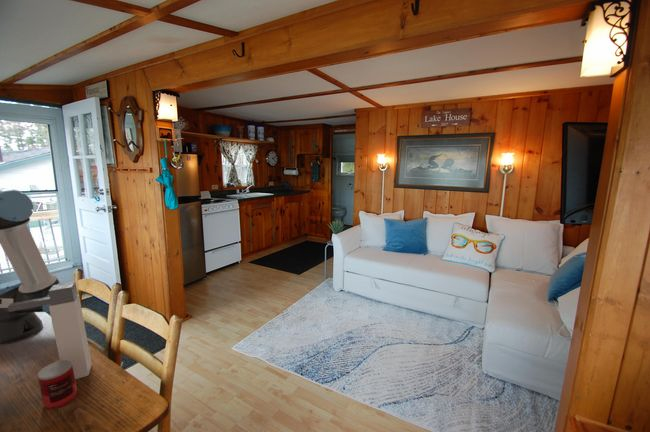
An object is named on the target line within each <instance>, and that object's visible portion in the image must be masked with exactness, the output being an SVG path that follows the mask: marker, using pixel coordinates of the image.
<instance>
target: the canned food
mask: <svg viewBox="0 0 650 432" xmlns="http://www.w3.org/2000/svg"><path fill="white" fill-rule="evenodd" d="M37 382H38V385H39V390H40V394H41V399H42V403H43V406H44V407H45V409H49V410H51V409H54V410H55V409H58V408H61V407H63V406H65V405H67V404H68V403H70V402H71V401H73V400H74V399H75V397H76V396H77V393H78V389H77V383H76V379H75V377H74V372H73V367H72V363H71V361H68V360H63V361H60V360H59V361H54V362H52V363H50V364H48V365H46V366H44V367H43V368H41V369H40V370H39V372H37Z"/></svg>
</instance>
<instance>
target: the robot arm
mask: <svg viewBox="0 0 650 432" xmlns="http://www.w3.org/2000/svg"><path fill="white" fill-rule="evenodd" d="M33 210H34V204H33V201H32V200H31V198H30V197H29V196H28V195H27V194H26V193H25V192H23V191H21V190H17V189H11V188H1V187H0V247H2V250H3V252H4V253H5V255H6V257H7V259H8V261H9V262H10V265H11V266H12V269H13V270H14V272H15V274H16V276H17V277H18V279H14V280H10V281H7V282H4V283H0V345H6V344H7V345H8V344H12V343H15V342H19V341H22V340H25V339H28V338H30V337H32V336H34V335H36V334H37V333H38V332H40V331H41V330H42V329H43V328H44V323H43V321H42V320H41V319H40V316H38V315H37V314H36V313H50V310H49V306H50V304H48V305H43V306H38V307H32V308H27V309H22V310H17V311H11V312H9V310H8V306H9V305H10V304H11V303H16V302H22V301H27V300H33V299H38V298H44V297H50V296H49V290H50V289H51V287H52V286H53V285H57V284H63V283H64V282H60V280H59V279H58V277H57V275H56V274H51V273H50V271H49V269H48V266H47V265H46V262H45V260H44V258H43V256H42V254H41V252H40V250H39V248H38V245H37V243H36V241H35V240H34V237H33V235H32V233H31V231H30V229H29V227H28V223H29V222H30V221H31V216H32V215H33V213H34V211H33Z"/></svg>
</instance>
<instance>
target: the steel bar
mask: <svg viewBox="0 0 650 432" xmlns="http://www.w3.org/2000/svg"><path fill="white" fill-rule="evenodd" d="M62 283H63V284H57V285H53V286H52V287H51V289H50V290H49V296H50V297H44V298H38V299H33V300H27V301H22V302H16V303H11V304H10V305H9V306H8V310H9V312H11V311H17V310H22V309H27V308H32V307H38V306H43V305H48V304H51V306H52V305H57V304H62V303H67V302H73V301H75V299H76V297H77V296H78V294H79V293H78V290H77V283H76V281H70V282H62Z"/></svg>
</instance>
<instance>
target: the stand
mask: <svg viewBox="0 0 650 432" xmlns="http://www.w3.org/2000/svg"><path fill="white" fill-rule="evenodd" d="M49 310H50V312H49V313H50V317H51V324H52V329H53V333H54V339H55V343H56V348H57V353H58V357H59V358H58V359H59V361H63V360H68V361H71V363H72V367H73V372H74V377H75V380H78V379H80V378H84V377H88V376H89V375H90V372H91V369H92V366H93V364H92V359H91V353H90V347H89V343H88V336H87V333H86V332H87V331H86V326H85V325H86V324H85V319H84V316H83V315H84V314H83V309H82V305H81V299H80V295H79V293H78V296H77V297H76V299H75V301H73V302H67V303H62V304H57V305H52V306H51V304H50V306H49Z"/></svg>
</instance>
